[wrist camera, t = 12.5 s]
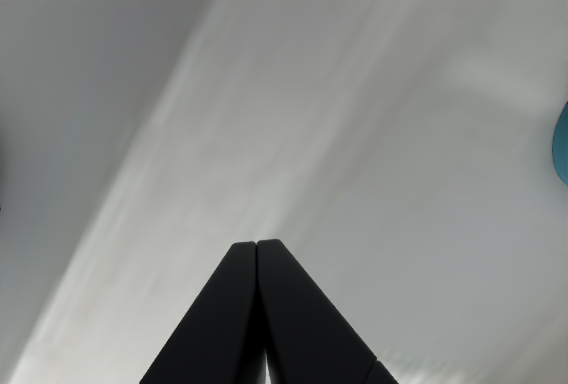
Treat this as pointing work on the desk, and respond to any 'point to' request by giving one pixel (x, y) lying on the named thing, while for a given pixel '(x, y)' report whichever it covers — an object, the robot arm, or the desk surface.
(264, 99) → the desk surface
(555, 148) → the teal jar
